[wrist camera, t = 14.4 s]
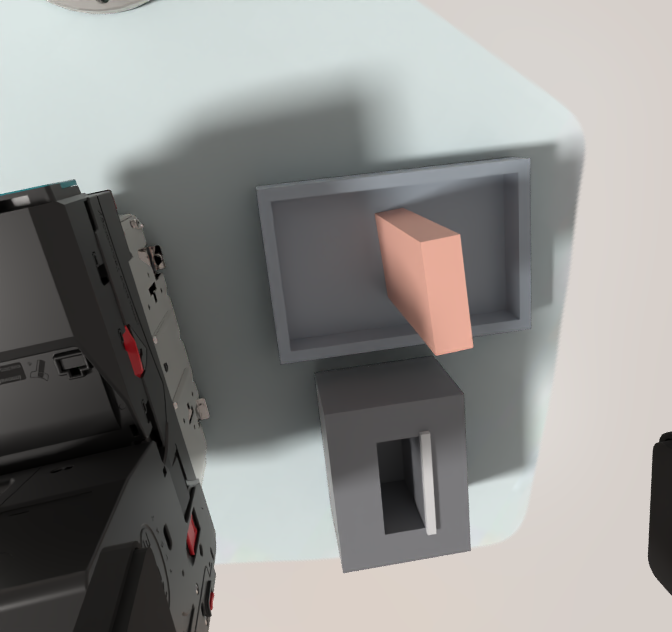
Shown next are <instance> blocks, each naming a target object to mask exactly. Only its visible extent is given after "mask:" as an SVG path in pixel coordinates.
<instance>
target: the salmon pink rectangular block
mask: <svg viewBox="0 0 672 632" xmlns="http://www.w3.org/2000/svg"><path fill="white" fill-rule="evenodd" d="M375 220H376V226H377V232H378V238H379V245H380V251H381V257H382V263H383V270H384V276H385V282H386V288H387V295H388V298H389V299H390V300H391V302H392V303H393V304H394V305H395V306H396V308H397V309H398V310H399V311H400V313H401V314H402V315H403V316H404V317H405V319H406V320H407V321H408V322H409V323H410V325H411V326H412V327H413V328H414V330H415V331H416V332H417V333H418V334H419V336H420V337H421V338H422V339H423V341H424V342H425V343H426V344H427V345H428V347H429V348H430V349H431V350H432V351H433V353H434V354H435V355H436V356H438V355H442V354H447V353H452V352H456V351H461V350H465V349H470V348H473V340H472V331H471V323H470V314H469V306H468V297H467V288H466V280H465V271H464V263H463V254H462V246H461V237H460V234H458V233H456V232H454V231H452V230H450V229H448V228H446V227H443V226H441V225H439V224H437V223H435V222H433V221H431V220H428V219H426V218H424V217H422V216H420V215H418V214H416V213H413V212H411V211H409V210H407V209H405V208H399V209H394V210H389V211H384V212H379V213H375Z"/></svg>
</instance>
